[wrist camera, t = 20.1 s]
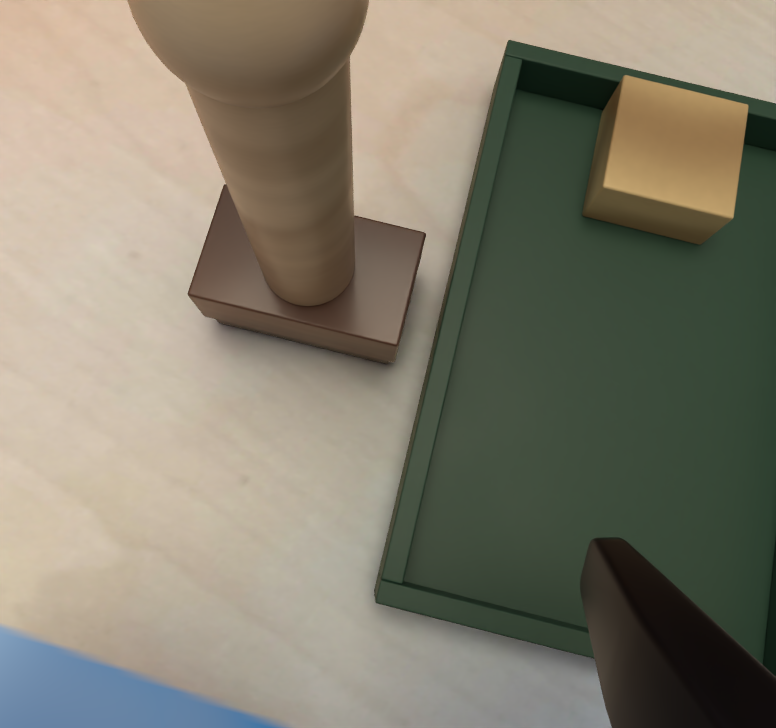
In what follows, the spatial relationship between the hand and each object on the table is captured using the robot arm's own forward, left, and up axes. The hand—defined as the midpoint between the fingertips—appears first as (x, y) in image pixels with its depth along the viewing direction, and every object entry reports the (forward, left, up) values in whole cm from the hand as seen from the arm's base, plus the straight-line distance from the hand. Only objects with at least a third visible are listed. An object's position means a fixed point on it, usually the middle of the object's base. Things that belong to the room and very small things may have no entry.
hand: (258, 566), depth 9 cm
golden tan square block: (+14, -8, -10) cm, 19 cm away
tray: (+8, -8, -11) cm, 16 cm away
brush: (+7, +2, -11) cm, 14 cm away
